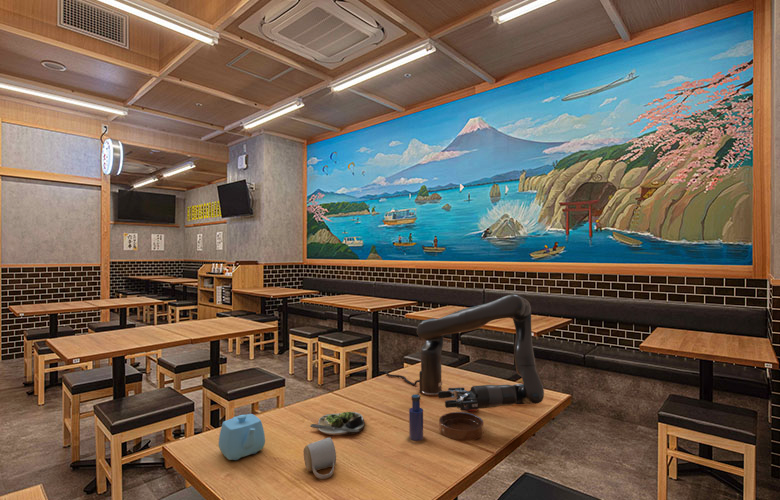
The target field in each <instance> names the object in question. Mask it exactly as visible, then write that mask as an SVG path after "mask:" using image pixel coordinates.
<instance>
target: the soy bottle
mask: <svg viewBox="0 0 780 500" xmlns="http://www.w3.org/2000/svg"><path fill="white" fill-rule="evenodd" d="M424 437H425V436H424V409H423V408H422V407H421V395H420V394H411V407H409V409H408V438H409V440H411V441H414V442H419V441H422V440H424Z"/></svg>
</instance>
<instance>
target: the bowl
mask: <svg viewBox="0 0 780 500" xmlns="http://www.w3.org/2000/svg"><path fill="white" fill-rule="evenodd" d="M438 421H439V422H438V431H439V432H440V434H441V435H443V436H444V437H446V438H449V439H451V440H455V441H464V442H465V441H473V440H478V439H479V438H481V437H483V435H484V434H485V429H484V428H485V427H484V420H483V419H482V418H481V417H480V416H478V415H475V414H473V413H471V412H463V411H456V412H455V411H454V412H448V413H444V414H442V415H441V416H440V417H439V420H438Z"/></svg>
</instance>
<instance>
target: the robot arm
mask: <svg viewBox="0 0 780 500" xmlns="http://www.w3.org/2000/svg"><path fill="white" fill-rule="evenodd" d="M502 319H512V322H513V324H514V330H515V340H514V347H513V349H514V350H513V355H514V356H513V357H514V363H515V370H516V373H517V375H518V376H520V377H521V379H522V383H519V384H520V385H515V384H485V385H484V384H483V385H481V384H480V385H472V386H471V387H470V390H466V389H465V387H463V386H462V387H448V388H447V389H448V390H443V387H442V386H443V381H442V350H443V347H444V335H445V336H446V335H451V334H459V333H465V332H466V333H467V332H470V331H474V330H478V329H481V328H483V327H484V326H485V325H487V324H488V323H490V322H492V321H497V320H502ZM416 334H417V336H418V337H419V339H421V340H422V341H424V344H423V345H422V347H421V348H420V371H419V379H418V380H417V379H416V380H415V381H414V382H411V381H410V380H409V379H407V378H406V377H405V376H403V375H400V374H391V373H389V372H388V371H387V370H383V371H382V372H381V373H382V374H384V373H385V374H386V375H387V376H389V377H393V378H401V379H403V380H404V381H405V382H406V383H407V384H409V385H411V386H417V384H419V393H420V394H423V395H425V396H429V397H430V396H431V397H434V396H437V397H438V399H449V400H445V401H444V407H445V408H446V409H450V408H451V409H453V408H456V409H460V411H467V410H471V409H478V410H483V409H494V408H500V407H510V406H520V405H521V406H523V405H525V406H526V405H527V406H528V405H537V404H540V403H542V401H543V400H544V397H545V389H544V385H543V382H542V380H541V378H540V375H539V373H538V370H537V364H536V358H535V352H534V345H533V336H532V335H533V333H532V307H531V303H530V302H529V300H527V298H525V297H522V296H520V295H517V294H508V295H505V296H502V297H499V298H497V299H495V300H492V301H490V302H487V303H482V304H478V305H475V306H470V307H467V308H463V309H460V310H457V311H454V312H452V313H450V314H447V315H445V316H442V317H439V318H433V317H432V318H427V319H424V320H422V321H420V322H419V323H418V325H417V327H416ZM466 406H467V407H466Z"/></svg>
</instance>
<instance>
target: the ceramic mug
mask: <svg viewBox="0 0 780 500" xmlns="http://www.w3.org/2000/svg"><path fill="white" fill-rule="evenodd" d="M303 461H304V466H305V468H306V470H307V471H308V472H313V474H314V476H315V477H316V478H317V479H320V480H326V479H329V478H330V477H332V475H333V474H334V471H335V466H336V464H337V452H336V447H335V444H334V441H333V439H332V438H331V436H329V437H326V438H322V439H320V440H316V441H315V442H311V443H309V444H307V445H305V446H304V447H303ZM331 467H332V468H331ZM329 468H331V469H330V471H329V472H328V473H326V474H321V473H318V471H319V470H324V469H329Z"/></svg>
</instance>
